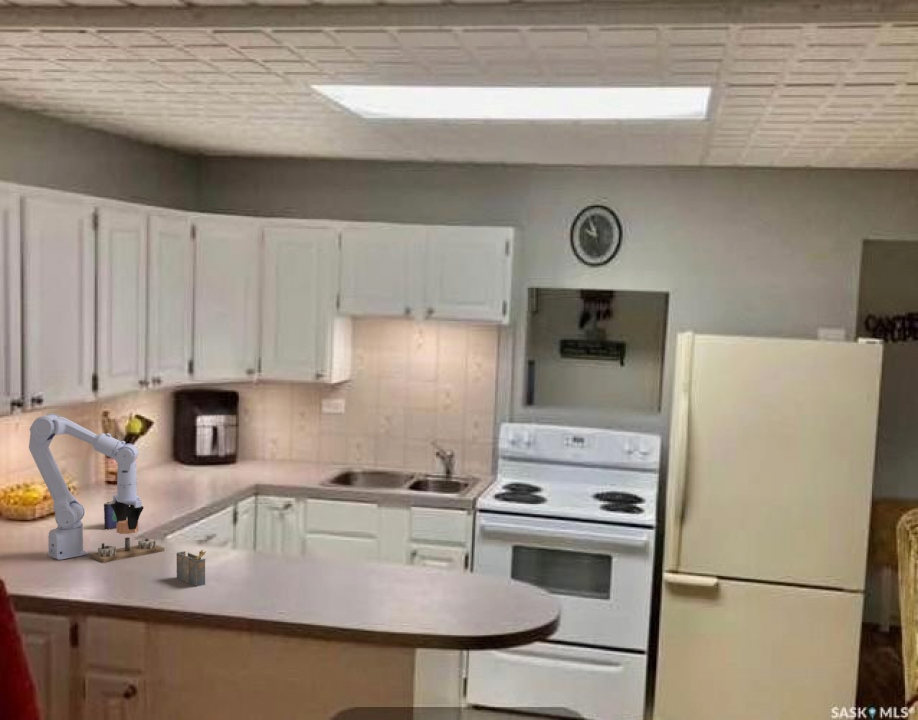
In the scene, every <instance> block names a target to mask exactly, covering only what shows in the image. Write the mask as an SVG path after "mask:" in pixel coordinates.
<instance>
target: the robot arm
mask: <svg viewBox="0 0 918 720" xmlns="http://www.w3.org/2000/svg"><path fill="white" fill-rule="evenodd" d="M29 427H30V428H29V431H30V434H29V443H28V450H29V452H30V454H31V456H32V458H33V460H34V463H35V464H36V467H37V468H38V471H39V474H40V475H41V478H42V479H43V482H44V484H45V487H46V488H47V490H48V492H49V494H50V496H51V498H52V500H53V501H52V502H53V505H52V506H53V511H54V514H55V516H54V519H55V523H56V524H57V527H55V528H53V529H50V530H49V532H48V535H47V536H48V537H47V538H48V539H47V540H48V542H47V543H48V553H47V556H49V557H51V558H53V559H55V560H59V561H61V560H65V559H66V560H67V559H71V558H77V557H82V556H88V555H89V552H87V551H85V550H84V532H83V531H84V527H83V526H84V525H83V522H82V520H83V518H84V516H85V508H84V506H83V505H82V504H81V503H80V502H79V501H78V500H77V498H76V497H75V495H73V494H72V493H71V492H70V490H69V487H68V485H67V483H66V481H65V478H64V476H63V475H62V474H63V473H61V471H60V468H59V467H58V464H57V461H56V460H55V458H54V455H53V453H52V451H51V449H50V446H51V445H50V444H51V443H52V441H53V439H54V437H55V436H58V435H69V436H72V437H74V438H77V439H79V440H81V441H83V442H86V443H88V444H91V446H92V448H93V450H94V451H95V452H98V453H100V454H103V455H104V456H107V457H109V458H111V459H114V460H115V462H116V463H117V470H116V471H117V473H116V475H117V476H116V480H117V481H116V483H117V484H116V487H117V489H116V490H117V492H116V493H117V494H113V495H112V501H116V502H115V503H113V504H111V507H112V508H113V510H114V512H115V515H116V518H117V522H118V521H125V520H128V528H129V530H132V529H136V527H137V523H138V524H139V518H140V516H141V514H142V512H143V510H144V508H145V507H144V506H143V505H142V504H143V503H142V502H143V501H142V500H140V499H141V496H140V495H138V492H137V490H138V489H137V488H138V487H137V486H138V481H137V480H138V469H137V458H138V457H139V449H138V448H137V447H136V446H135V445H134V444H133V443H126V441H125V440H122V441H121V440H119V439H117V438H115V437H113V436H112V434H111V433H109V432H107V433H104V432H102V433H99V434H97V433H94V432H93V431H91V430H89V429H88V428H85V427H84V426H82V425H80V424H78V423H76V422H74V421H72V420H70V419H68V417H67V418H66V417H65V416H59V415H58V414H56V413H47V414H46V415H43V416H39V417H37V418H35V419H34V421H33V422H32V423H31V425H30V426H29Z"/></svg>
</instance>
